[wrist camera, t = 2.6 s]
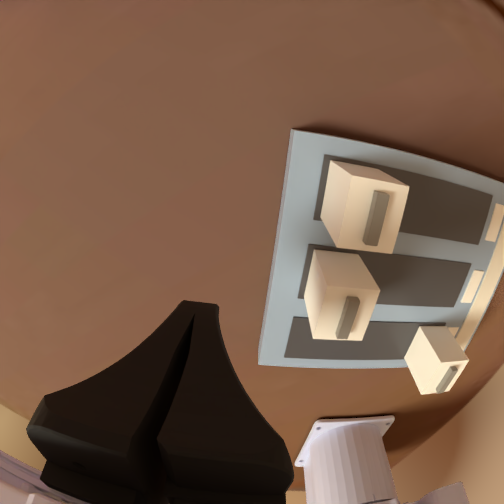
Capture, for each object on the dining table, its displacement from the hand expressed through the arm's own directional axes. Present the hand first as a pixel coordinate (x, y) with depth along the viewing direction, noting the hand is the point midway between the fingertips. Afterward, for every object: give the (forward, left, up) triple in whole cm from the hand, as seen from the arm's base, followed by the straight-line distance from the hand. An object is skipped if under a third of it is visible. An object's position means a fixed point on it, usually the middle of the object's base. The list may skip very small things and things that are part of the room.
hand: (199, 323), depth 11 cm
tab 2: (-5, -14, -5) cm, 16 cm away
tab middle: (0, -6, -5) cm, 8 cm away
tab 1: (+4, -6, -5) cm, 9 cm away
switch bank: (0, -11, -7) cm, 13 cm away
